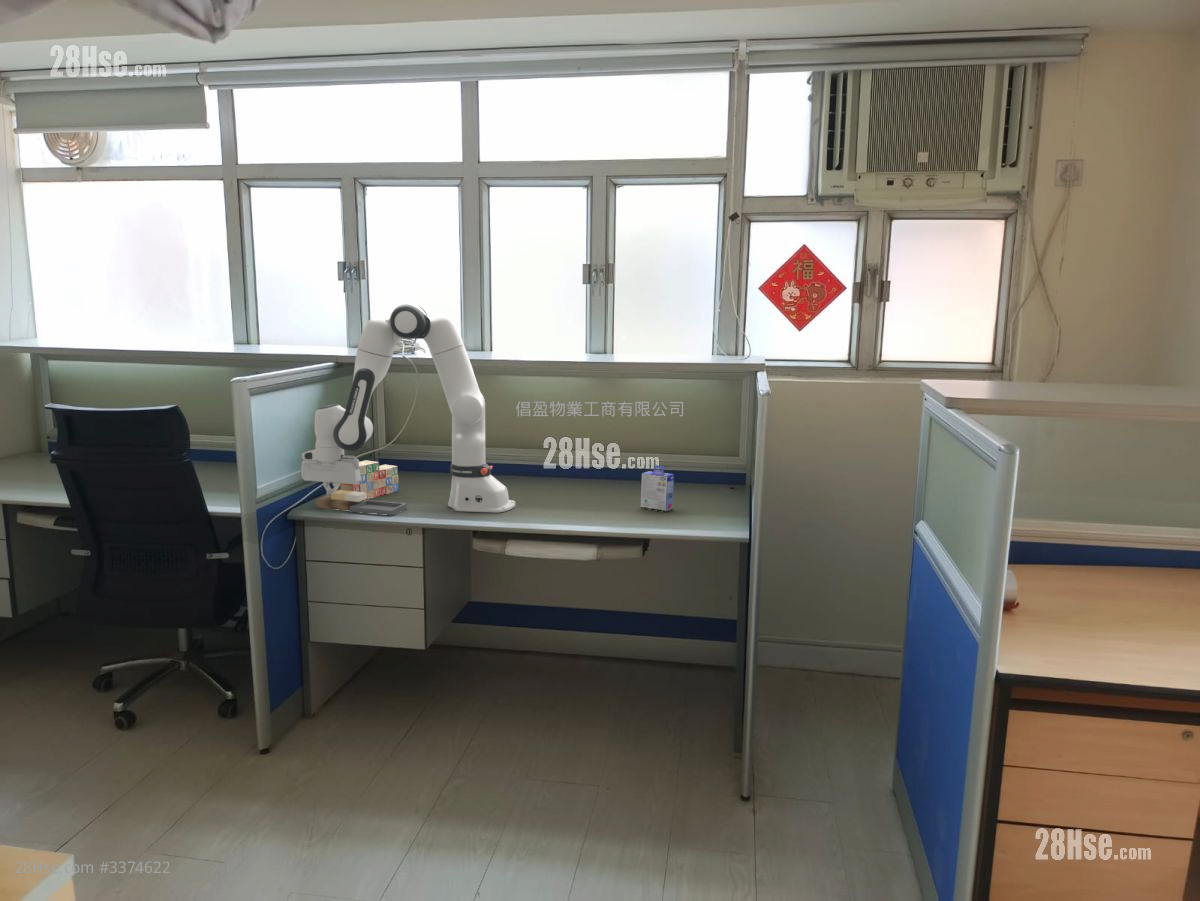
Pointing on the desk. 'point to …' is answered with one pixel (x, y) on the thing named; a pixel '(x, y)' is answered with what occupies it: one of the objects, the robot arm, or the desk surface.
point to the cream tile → (355, 496)
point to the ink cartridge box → (657, 489)
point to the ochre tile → (339, 495)
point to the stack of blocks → (375, 479)
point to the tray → (378, 507)
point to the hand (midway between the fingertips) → (332, 495)
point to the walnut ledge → (333, 503)
